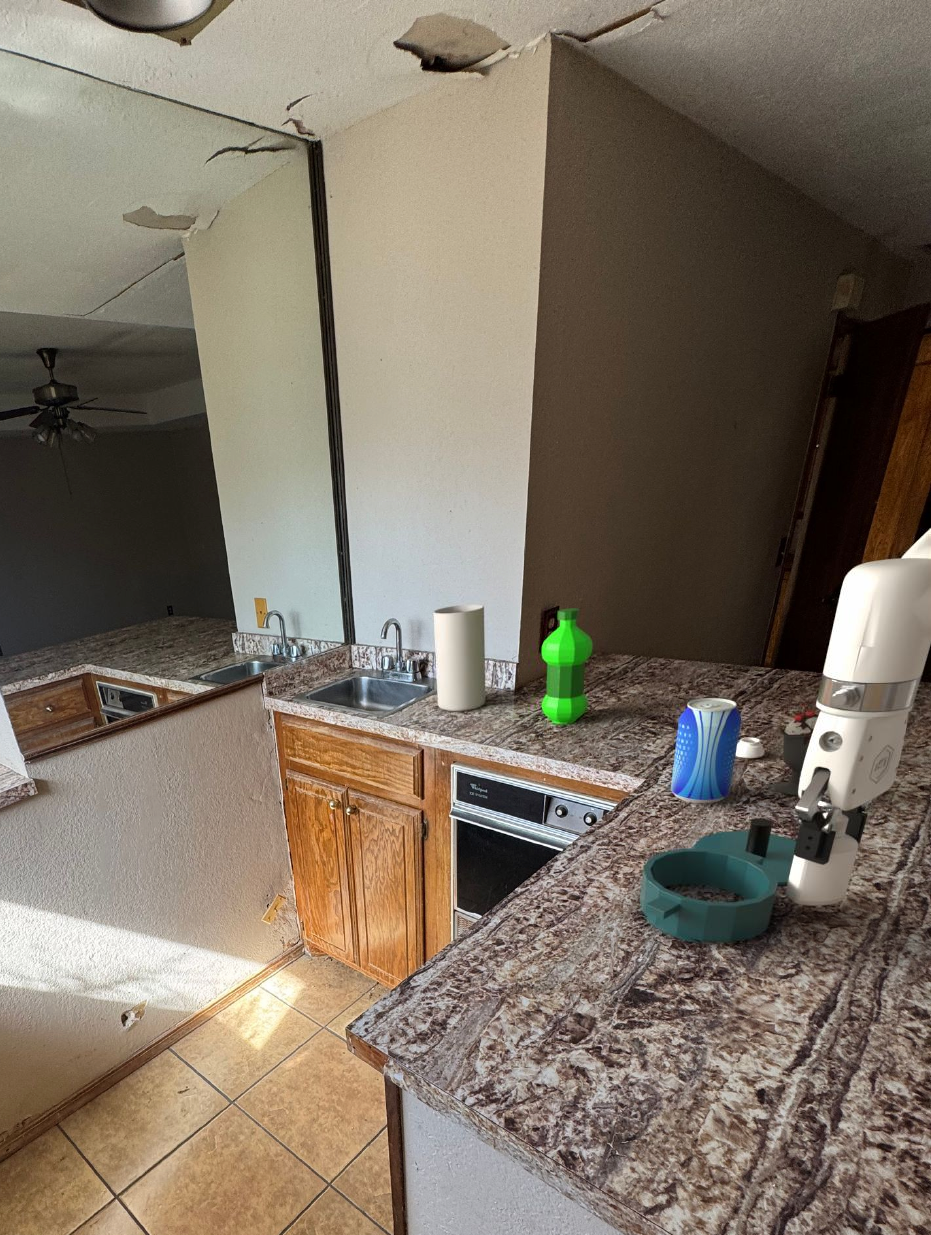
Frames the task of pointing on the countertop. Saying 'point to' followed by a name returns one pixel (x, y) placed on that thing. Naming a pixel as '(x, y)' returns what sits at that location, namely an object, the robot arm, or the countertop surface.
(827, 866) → the eye dropper bottle
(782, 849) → the lid
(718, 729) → the beer can
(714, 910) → the pot
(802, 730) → the sundae
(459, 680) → the cylinder vase
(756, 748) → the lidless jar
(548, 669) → the plastic bottle
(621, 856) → the countertop surface
